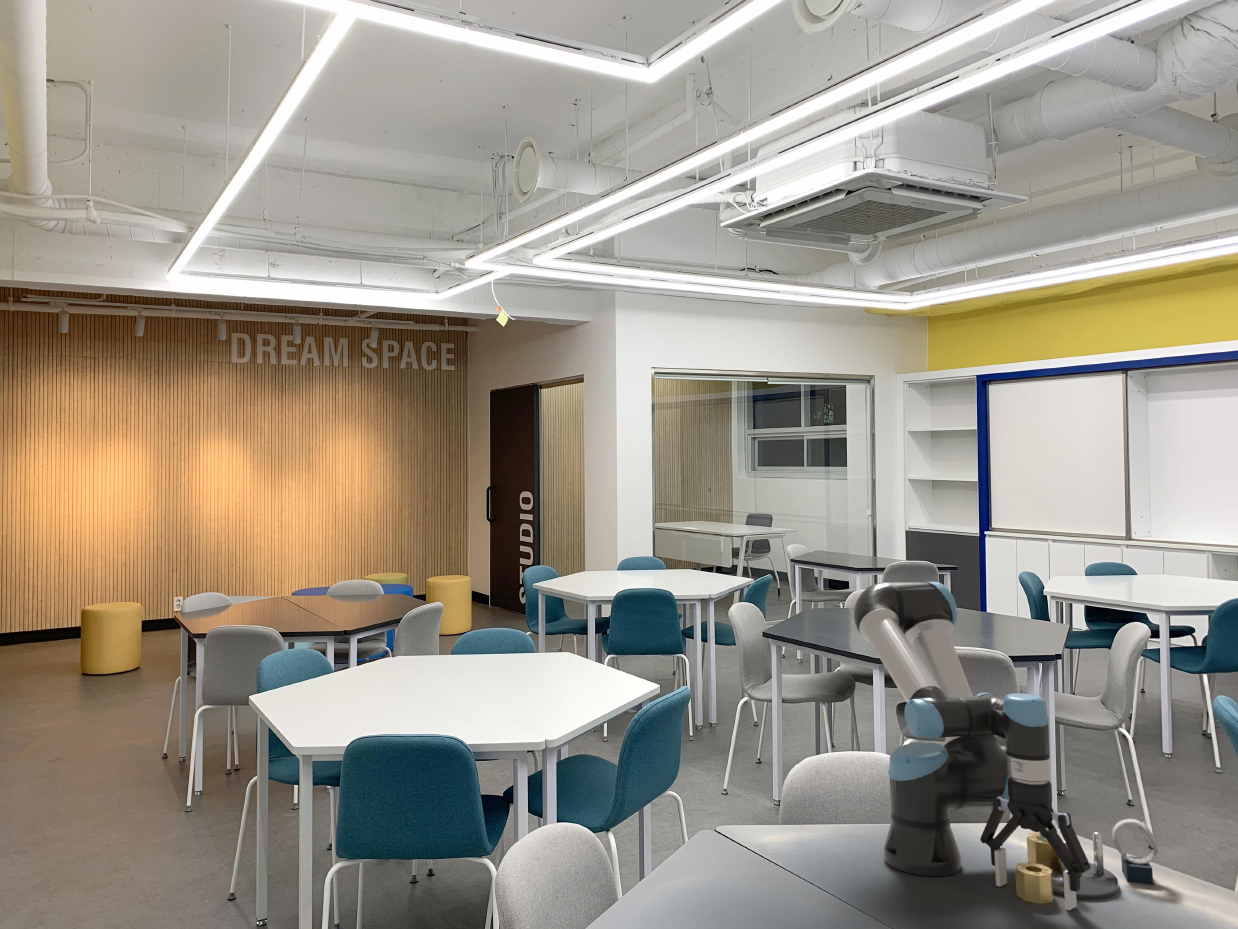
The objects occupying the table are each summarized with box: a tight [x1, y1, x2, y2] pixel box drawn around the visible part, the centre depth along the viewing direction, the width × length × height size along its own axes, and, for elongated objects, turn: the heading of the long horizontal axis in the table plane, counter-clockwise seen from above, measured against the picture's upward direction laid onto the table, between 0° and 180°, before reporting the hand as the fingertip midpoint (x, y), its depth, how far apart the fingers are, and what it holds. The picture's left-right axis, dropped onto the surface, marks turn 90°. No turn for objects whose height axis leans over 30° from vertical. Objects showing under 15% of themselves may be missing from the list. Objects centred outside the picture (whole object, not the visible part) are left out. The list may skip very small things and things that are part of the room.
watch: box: [1111, 818, 1161, 886], centre depth 167 cm, size 6×8×11 cm
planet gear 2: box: [1014, 861, 1055, 905], centre depth 160 cm, size 6×6×5 cm
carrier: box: [1039, 828, 1119, 900], centre depth 166 cm, size 16×16×9 cm
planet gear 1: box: [1026, 832, 1059, 870], centre depth 171 cm, size 6×6×5 cm
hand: (1035, 896), depth 159 cm, fingers open, 12 cm apart
